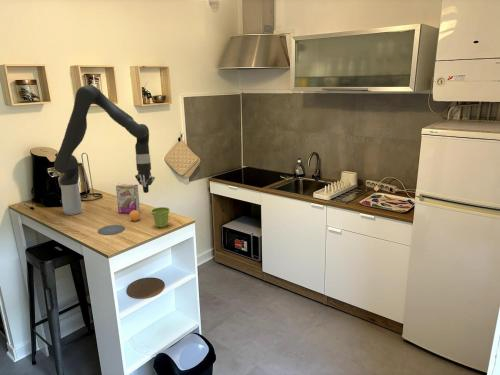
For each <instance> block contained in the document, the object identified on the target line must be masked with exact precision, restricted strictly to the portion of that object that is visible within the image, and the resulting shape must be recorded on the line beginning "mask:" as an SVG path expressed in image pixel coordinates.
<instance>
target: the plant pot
mask: <svg viewBox="0 0 500 375" xmlns="http://www.w3.org/2000/svg"><path fill="white" fill-rule="evenodd" d="M170 209H171V208H170V207H162V206H160V207H154V208H152V209H151V210H150V212H151V214H152V216H153V220H154V225H155V228H159V227H161V228H166V227H167V226H168V224H169V223H168V222H169V213H170V211H171V210H170Z"/></svg>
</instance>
